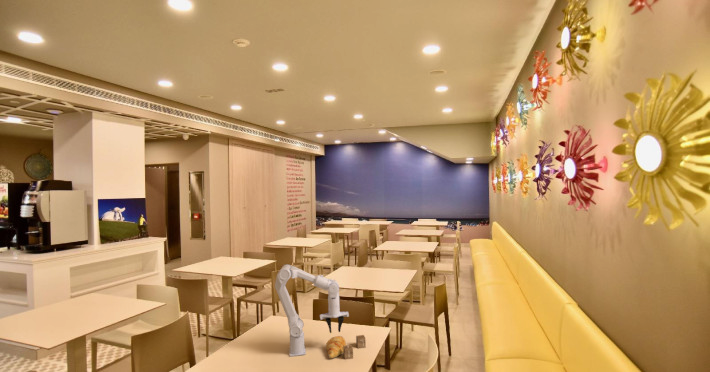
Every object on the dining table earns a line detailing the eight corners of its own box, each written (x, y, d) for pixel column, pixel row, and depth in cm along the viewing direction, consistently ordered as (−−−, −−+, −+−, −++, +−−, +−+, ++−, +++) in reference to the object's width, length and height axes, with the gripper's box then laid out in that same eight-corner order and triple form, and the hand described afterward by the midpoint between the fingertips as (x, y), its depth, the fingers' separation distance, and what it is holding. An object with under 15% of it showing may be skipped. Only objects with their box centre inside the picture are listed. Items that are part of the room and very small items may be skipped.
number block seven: (356, 345, 191) (356, 335, 191) (363, 344, 192) (363, 334, 192) (358, 348, 187) (357, 338, 187) (365, 347, 188) (365, 338, 188)
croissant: (337, 368, 175) (344, 353, 175) (318, 357, 177) (325, 343, 176) (345, 347, 196) (352, 334, 195) (329, 338, 198) (335, 325, 197)
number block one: (343, 355, 180) (343, 345, 180) (351, 354, 181) (351, 344, 181) (345, 359, 176) (344, 349, 176) (353, 358, 177) (352, 348, 177)
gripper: (320, 309, 181) (321, 336, 181) (349, 306, 184) (350, 333, 184) (319, 304, 188) (320, 331, 188) (346, 301, 191) (347, 327, 191)
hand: (334, 331), depth 186 cm, fingers open, 4 cm apart
